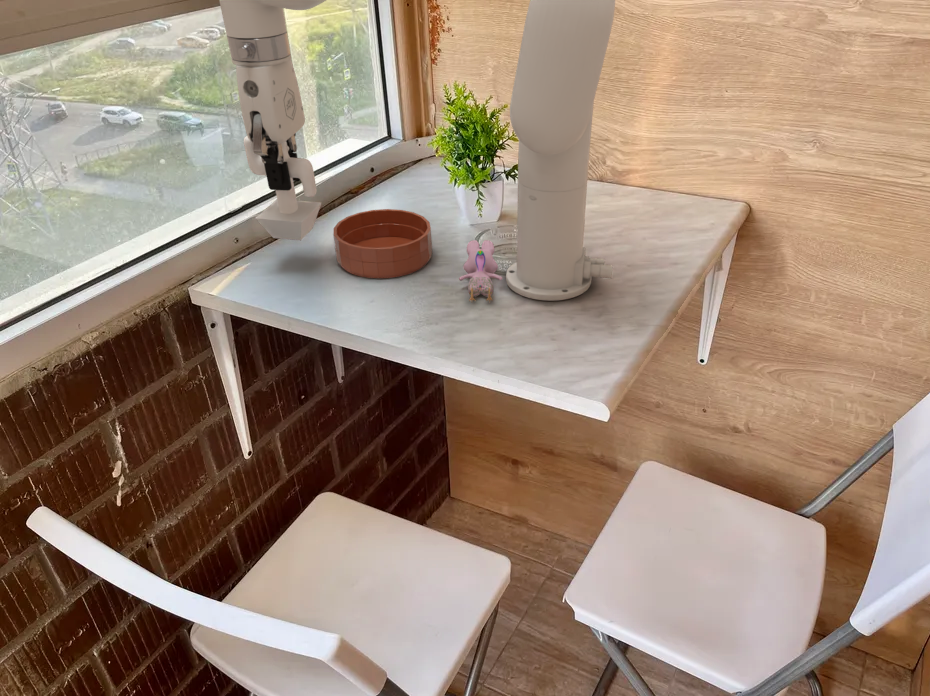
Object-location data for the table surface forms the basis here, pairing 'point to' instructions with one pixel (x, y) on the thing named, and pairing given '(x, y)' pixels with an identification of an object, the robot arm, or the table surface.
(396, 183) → the table surface
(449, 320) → the table surface
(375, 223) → the bowl
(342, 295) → the table surface
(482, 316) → the table surface
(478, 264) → the rabbit figure
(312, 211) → the figurine
